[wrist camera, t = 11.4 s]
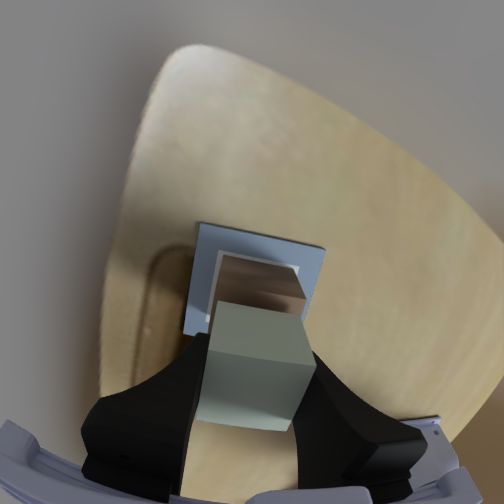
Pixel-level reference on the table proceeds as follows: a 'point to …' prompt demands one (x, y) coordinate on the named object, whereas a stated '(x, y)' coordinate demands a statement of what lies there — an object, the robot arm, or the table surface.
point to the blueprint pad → (247, 247)
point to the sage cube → (255, 368)
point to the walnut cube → (257, 287)
